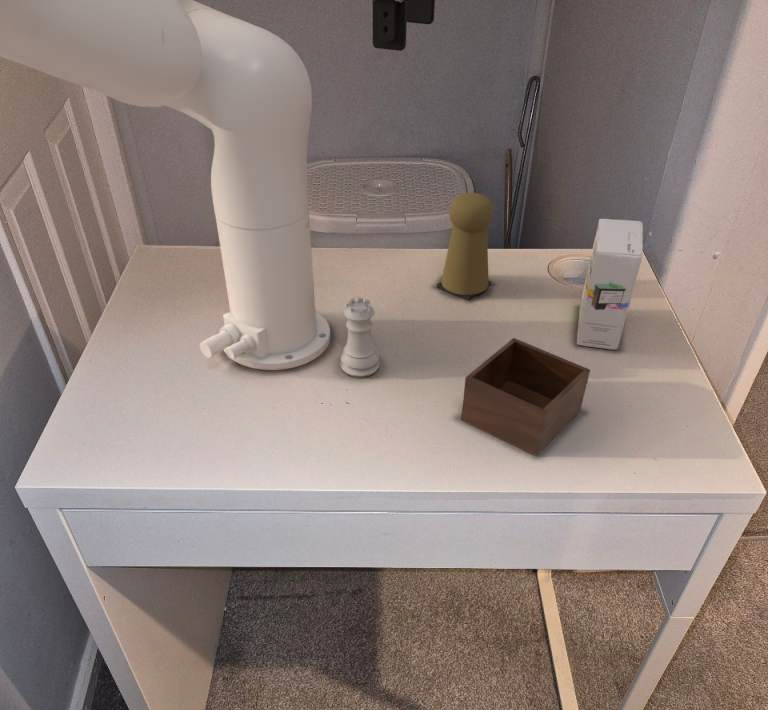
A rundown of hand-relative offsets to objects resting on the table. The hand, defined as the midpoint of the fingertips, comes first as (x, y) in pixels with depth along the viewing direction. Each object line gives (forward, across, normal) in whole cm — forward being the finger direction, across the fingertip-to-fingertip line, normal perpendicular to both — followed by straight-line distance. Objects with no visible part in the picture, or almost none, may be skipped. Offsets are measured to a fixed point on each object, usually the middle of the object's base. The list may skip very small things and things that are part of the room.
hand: (404, 34), depth 76 cm
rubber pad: (+28, -4, +8) cm, 30 cm away
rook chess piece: (+28, +17, +1) cm, 33 cm away
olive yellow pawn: (+28, -4, +8) cm, 29 cm away
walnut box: (+28, +20, +20) cm, 40 cm away
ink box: (+28, +1, +25) cm, 38 cm away
